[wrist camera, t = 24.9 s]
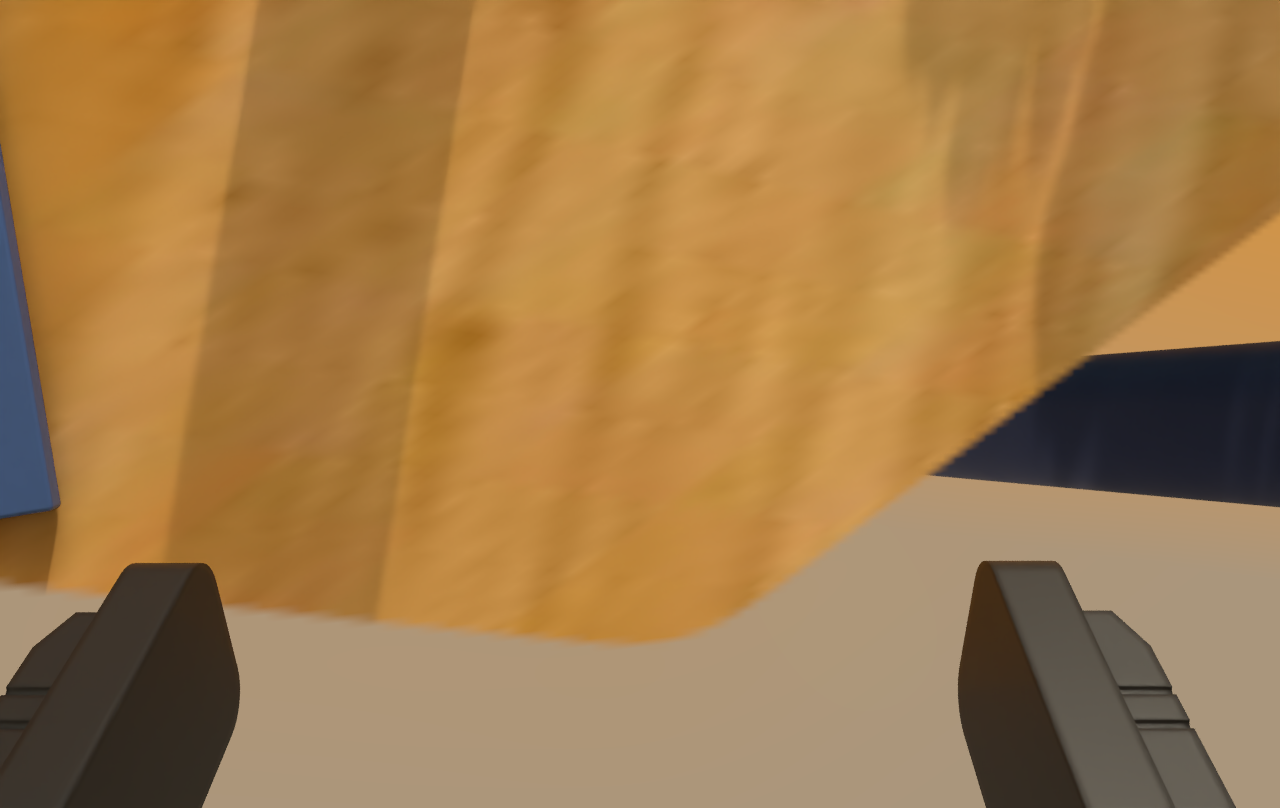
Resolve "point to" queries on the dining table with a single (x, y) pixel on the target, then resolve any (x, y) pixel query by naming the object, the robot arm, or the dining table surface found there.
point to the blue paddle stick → (20, 389)
